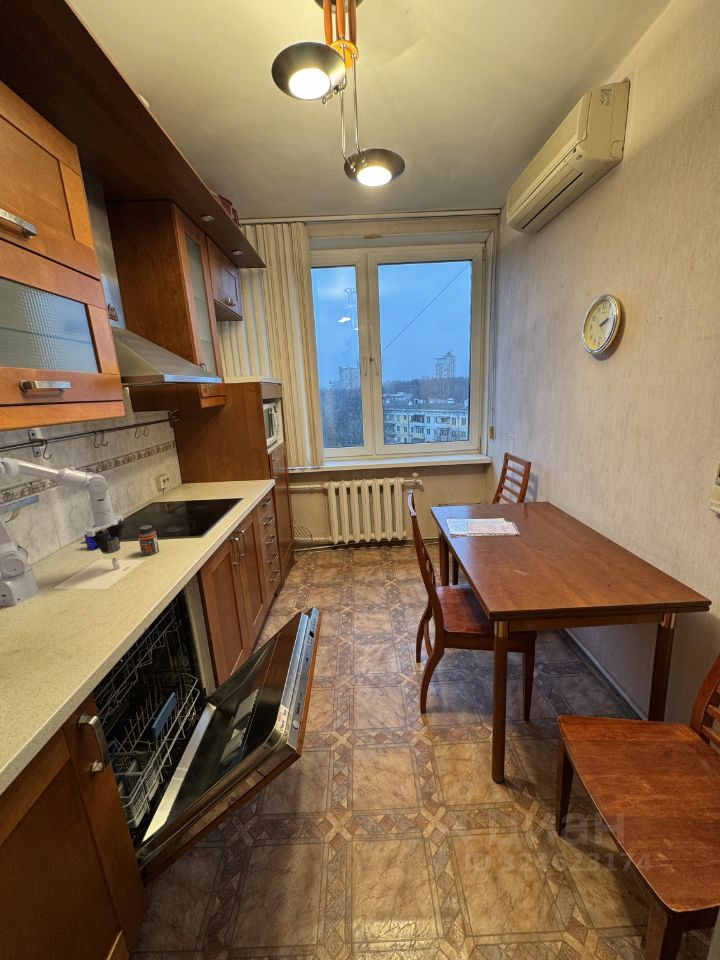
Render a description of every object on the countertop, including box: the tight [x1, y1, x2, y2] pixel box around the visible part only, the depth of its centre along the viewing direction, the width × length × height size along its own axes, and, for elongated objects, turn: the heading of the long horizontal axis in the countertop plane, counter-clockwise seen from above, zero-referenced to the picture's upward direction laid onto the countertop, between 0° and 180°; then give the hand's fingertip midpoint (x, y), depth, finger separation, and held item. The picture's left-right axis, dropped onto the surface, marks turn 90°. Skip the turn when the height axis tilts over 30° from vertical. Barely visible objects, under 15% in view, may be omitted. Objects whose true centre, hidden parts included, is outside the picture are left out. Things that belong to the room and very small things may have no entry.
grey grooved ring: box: [101, 537, 121, 555], centre depth 129 cm, size 5×5×4 cm
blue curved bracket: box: [84, 533, 123, 551], centre depth 155 cm, size 12×4×6 cm, turn 150°
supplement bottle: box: [138, 525, 160, 557], centre depth 143 cm, size 6×6×11 cm
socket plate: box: [53, 557, 146, 590], centre depth 129 cm, size 20×18×5 cm
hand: (110, 547), depth 130 cm, fingers closed on grey grooved ring, 5 cm apart
